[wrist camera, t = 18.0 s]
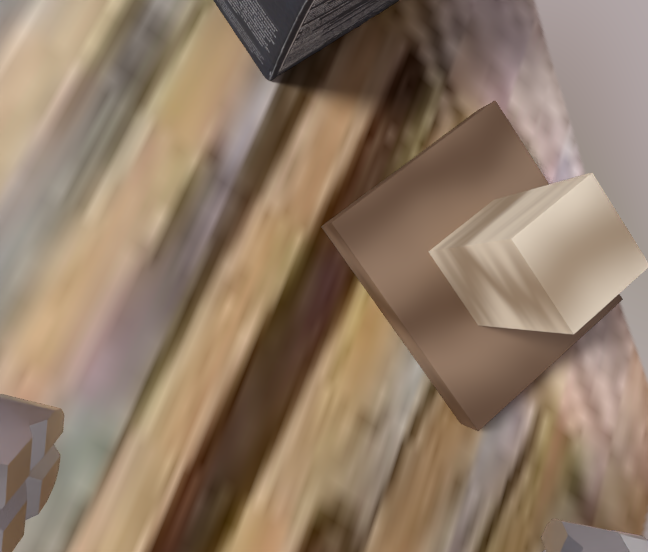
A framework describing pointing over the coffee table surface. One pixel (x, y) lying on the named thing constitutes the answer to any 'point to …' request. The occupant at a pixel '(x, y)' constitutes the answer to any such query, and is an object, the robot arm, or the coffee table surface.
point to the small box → (293, 27)
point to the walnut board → (428, 280)
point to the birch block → (541, 258)
